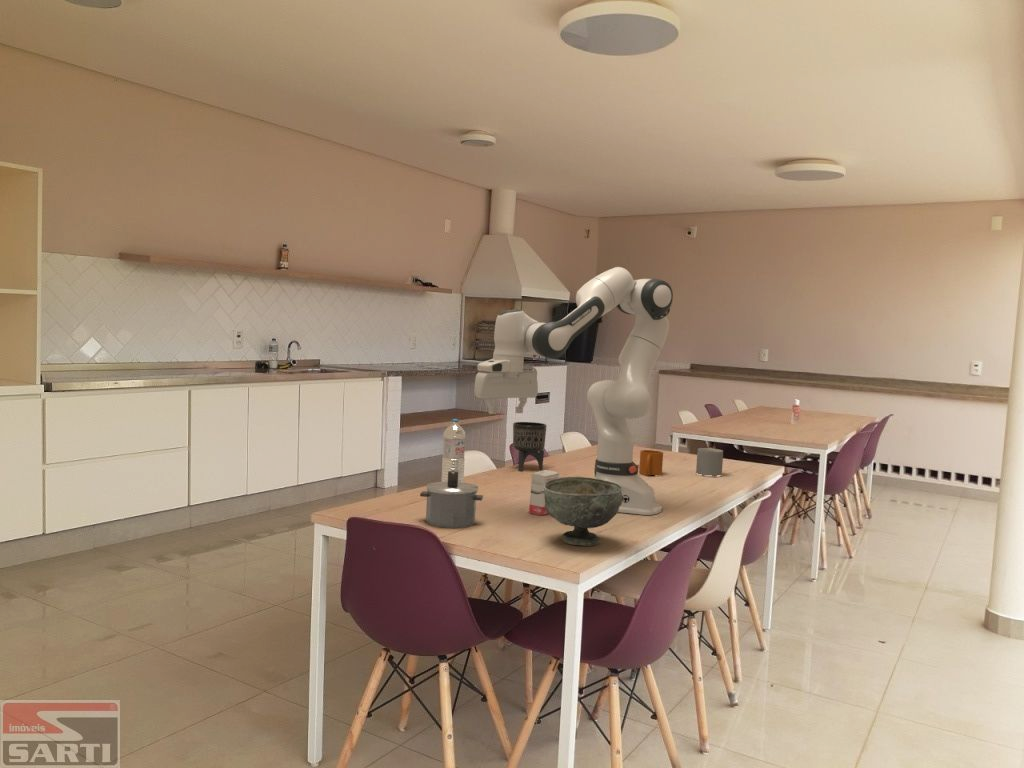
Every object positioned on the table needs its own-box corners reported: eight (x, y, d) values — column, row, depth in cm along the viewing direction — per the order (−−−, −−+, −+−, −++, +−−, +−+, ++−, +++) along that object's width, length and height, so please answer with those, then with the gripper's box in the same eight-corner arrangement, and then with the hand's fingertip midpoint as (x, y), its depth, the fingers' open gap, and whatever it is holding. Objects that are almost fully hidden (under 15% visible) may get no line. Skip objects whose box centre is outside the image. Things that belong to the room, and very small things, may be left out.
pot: (484, 518, 221) (485, 486, 220) (477, 529, 208) (479, 496, 207) (425, 514, 223) (426, 482, 222) (415, 525, 210) (416, 491, 209)
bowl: (531, 545, 196) (534, 485, 195) (555, 528, 214) (557, 473, 213) (608, 556, 189) (612, 494, 188) (626, 538, 207) (629, 482, 206)
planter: (533, 473, 296) (535, 426, 295) (504, 469, 303) (506, 423, 302) (550, 469, 307) (552, 424, 306) (522, 465, 314) (524, 421, 313)
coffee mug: (717, 478, 307) (719, 452, 306) (692, 474, 311) (694, 449, 311) (726, 473, 318) (728, 449, 317) (702, 470, 323) (704, 446, 322)
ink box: (543, 516, 228) (545, 475, 227) (528, 513, 231) (530, 473, 230) (557, 511, 235) (559, 471, 234) (543, 508, 238) (545, 469, 237)
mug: (632, 475, 304) (633, 452, 304) (644, 471, 314) (645, 449, 314) (653, 478, 300) (655, 454, 299) (665, 474, 310) (666, 451, 309)
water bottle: (445, 502, 239) (449, 420, 238) (437, 497, 245) (440, 418, 244) (466, 501, 242) (470, 420, 241) (457, 496, 248) (460, 417, 247)
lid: (485, 491, 219) (486, 470, 219) (466, 500, 206) (467, 478, 206) (439, 485, 224) (440, 465, 223) (417, 494, 210) (418, 473, 210)
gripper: (530, 365, 236) (528, 411, 236) (472, 364, 224) (470, 412, 225) (543, 366, 230) (541, 413, 231) (484, 365, 219) (482, 415, 220)
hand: (505, 413), depth 228 cm, fingers open, 8 cm apart
